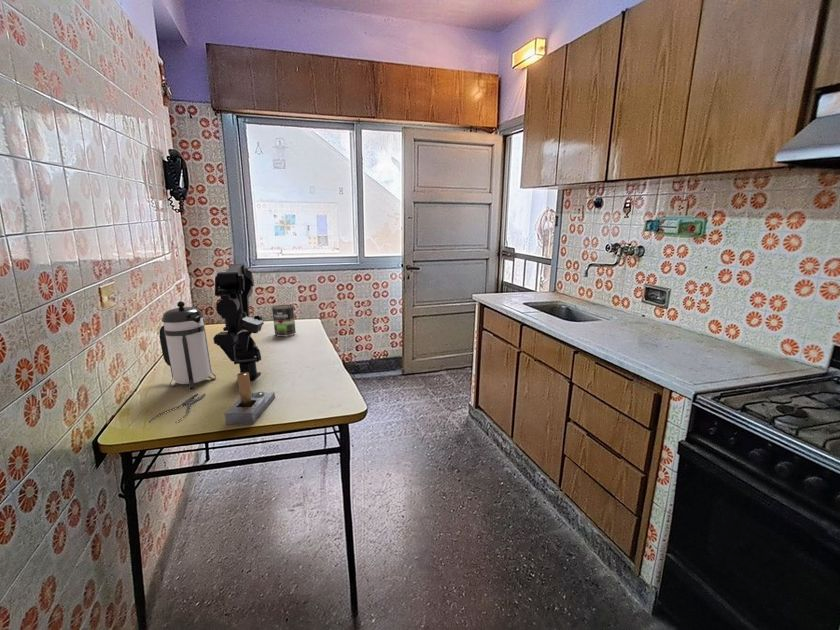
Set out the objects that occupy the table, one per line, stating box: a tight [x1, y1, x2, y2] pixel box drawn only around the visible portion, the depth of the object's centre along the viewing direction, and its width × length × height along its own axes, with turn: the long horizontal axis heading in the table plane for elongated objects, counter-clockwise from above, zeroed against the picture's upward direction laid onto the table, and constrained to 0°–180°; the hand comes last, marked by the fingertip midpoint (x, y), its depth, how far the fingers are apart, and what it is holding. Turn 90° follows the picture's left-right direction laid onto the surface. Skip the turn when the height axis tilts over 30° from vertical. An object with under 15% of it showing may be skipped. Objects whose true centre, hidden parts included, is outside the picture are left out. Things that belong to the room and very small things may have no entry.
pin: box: [236, 372, 253, 407], centre depth 125 cm, size 3×3×13 cm
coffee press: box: [158, 300, 217, 390], centre depth 149 cm, size 17×16×30 cm
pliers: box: [148, 392, 206, 423], centre depth 132 cm, size 10×1×20 cm
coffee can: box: [271, 304, 297, 337], centre depth 210 cm, size 10×10×14 cm
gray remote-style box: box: [224, 391, 276, 426], centre depth 129 cm, size 18×8×4 cm, turn 179°
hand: (239, 356), depth 139 cm, fingers open, 9 cm apart
